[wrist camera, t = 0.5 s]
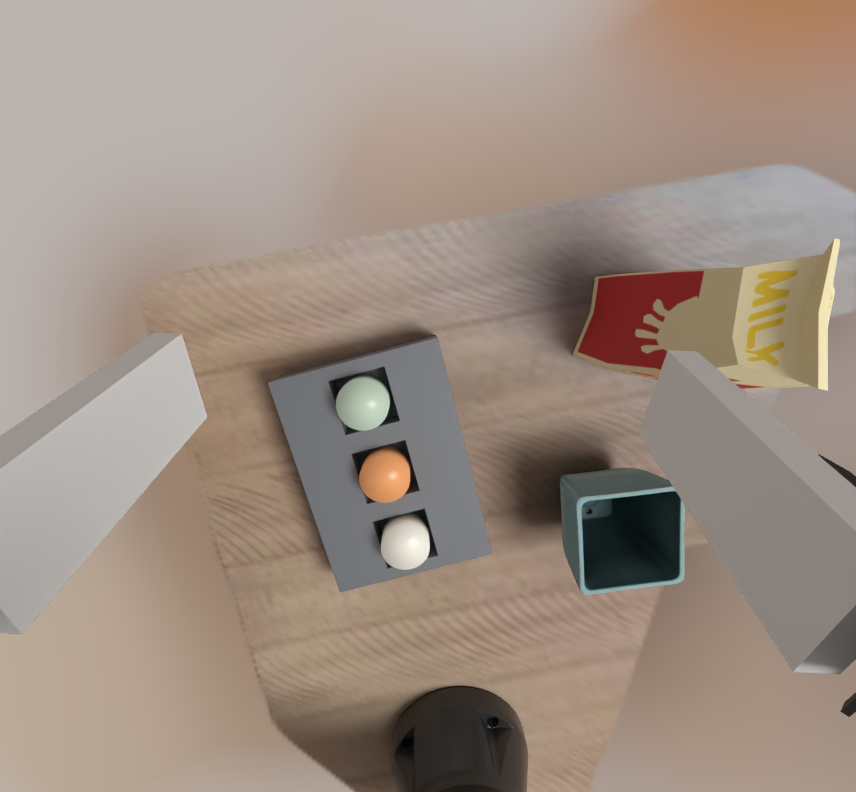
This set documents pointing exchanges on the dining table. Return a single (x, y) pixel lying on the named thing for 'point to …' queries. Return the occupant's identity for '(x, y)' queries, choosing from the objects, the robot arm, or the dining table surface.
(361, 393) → the sage button
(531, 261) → the dining table surface
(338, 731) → the dining table surface
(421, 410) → the button panel
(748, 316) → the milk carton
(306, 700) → the dining table surface
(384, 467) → the orange button
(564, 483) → the flower pot
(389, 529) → the cream button
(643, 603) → the dining table surface
